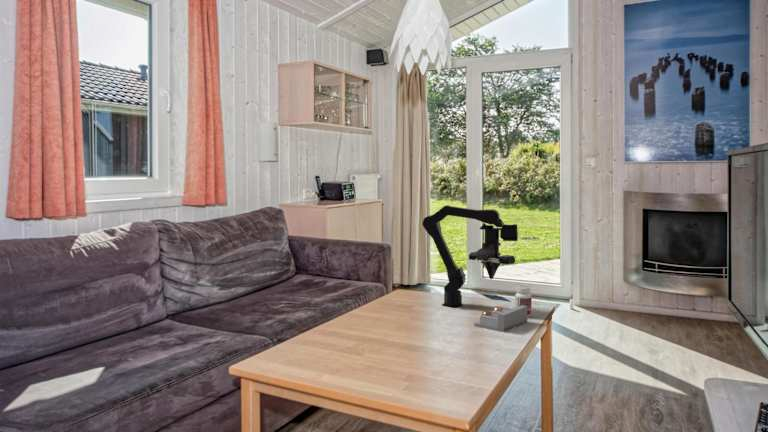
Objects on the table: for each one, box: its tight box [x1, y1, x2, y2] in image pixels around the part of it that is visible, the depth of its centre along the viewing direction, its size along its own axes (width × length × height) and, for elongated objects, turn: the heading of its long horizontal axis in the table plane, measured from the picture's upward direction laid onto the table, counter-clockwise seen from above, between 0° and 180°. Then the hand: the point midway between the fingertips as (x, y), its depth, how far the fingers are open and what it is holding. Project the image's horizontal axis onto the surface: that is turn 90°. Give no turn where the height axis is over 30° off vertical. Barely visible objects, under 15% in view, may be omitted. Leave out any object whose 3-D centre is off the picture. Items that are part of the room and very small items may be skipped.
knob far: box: [492, 305, 509, 312], centre depth 208 cm, size 8×5×4 cm, turn 49°
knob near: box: [481, 309, 498, 318], centre depth 202 cm, size 8×5×4 cm, turn 49°
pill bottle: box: [514, 285, 533, 318], centre depth 216 cm, size 6×6×11 cm
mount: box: [473, 305, 528, 333], centre depth 204 cm, size 12×17×6 cm
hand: (491, 278), depth 228 cm, fingers closed
